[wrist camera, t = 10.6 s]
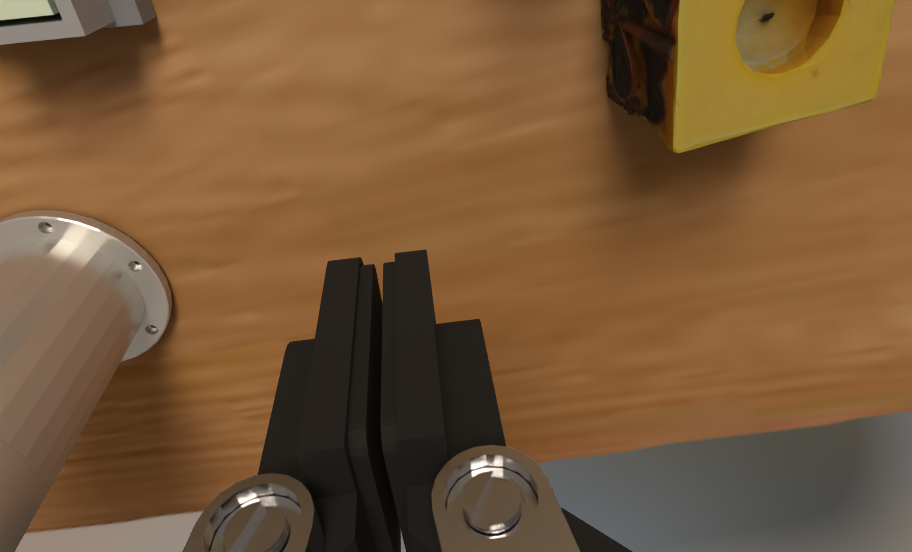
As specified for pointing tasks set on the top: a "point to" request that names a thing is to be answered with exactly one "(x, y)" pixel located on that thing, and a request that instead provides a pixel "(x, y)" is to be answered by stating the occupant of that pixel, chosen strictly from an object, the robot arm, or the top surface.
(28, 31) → the button board
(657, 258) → the top surface
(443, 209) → the top surface
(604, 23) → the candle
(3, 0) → the sage button
